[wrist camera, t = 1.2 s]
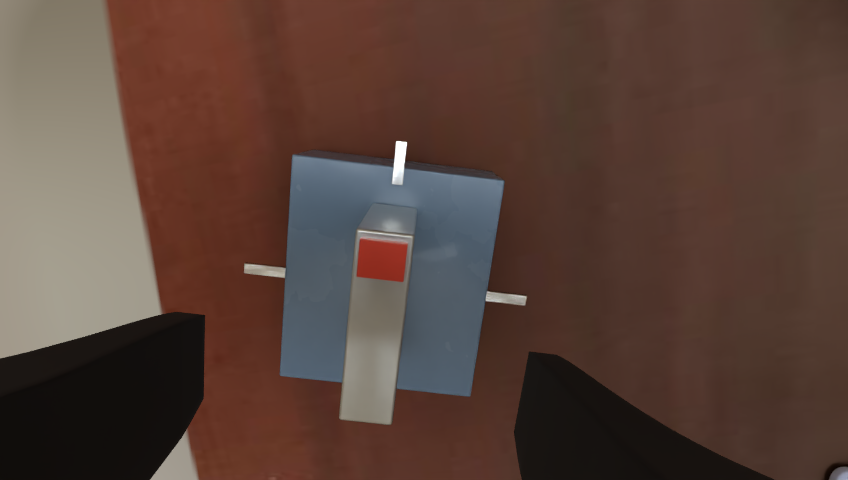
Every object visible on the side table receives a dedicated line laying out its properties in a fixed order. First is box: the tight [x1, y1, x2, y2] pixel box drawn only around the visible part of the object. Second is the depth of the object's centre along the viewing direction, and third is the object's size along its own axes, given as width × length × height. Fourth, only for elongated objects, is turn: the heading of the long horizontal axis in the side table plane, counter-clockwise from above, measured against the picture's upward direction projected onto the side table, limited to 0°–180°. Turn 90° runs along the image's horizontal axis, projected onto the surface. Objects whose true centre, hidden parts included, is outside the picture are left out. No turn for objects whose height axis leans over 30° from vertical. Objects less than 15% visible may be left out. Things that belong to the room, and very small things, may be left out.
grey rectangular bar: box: [339, 203, 417, 425], centre depth 15 cm, size 6×2×4 cm, turn 173°
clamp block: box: [244, 141, 527, 397], centre depth 18 cm, size 10×10×3 cm
